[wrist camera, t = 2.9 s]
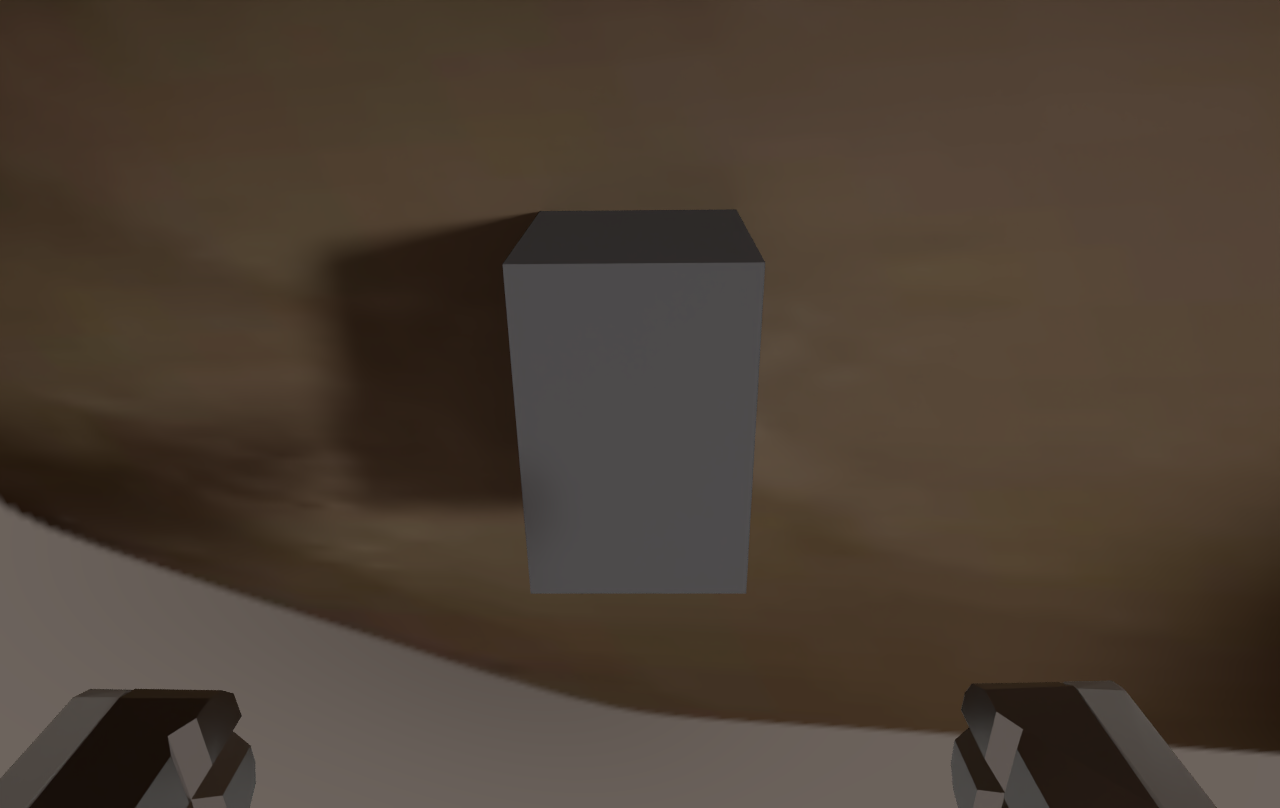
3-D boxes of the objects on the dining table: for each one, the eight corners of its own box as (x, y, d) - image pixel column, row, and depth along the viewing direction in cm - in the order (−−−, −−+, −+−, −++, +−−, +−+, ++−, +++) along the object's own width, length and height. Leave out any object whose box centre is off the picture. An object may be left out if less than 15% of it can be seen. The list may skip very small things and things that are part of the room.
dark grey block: (735, 208, 18) (765, 262, 13) (725, 473, 21) (745, 593, 16) (540, 210, 18) (502, 264, 13) (557, 474, 21) (530, 593, 16)
